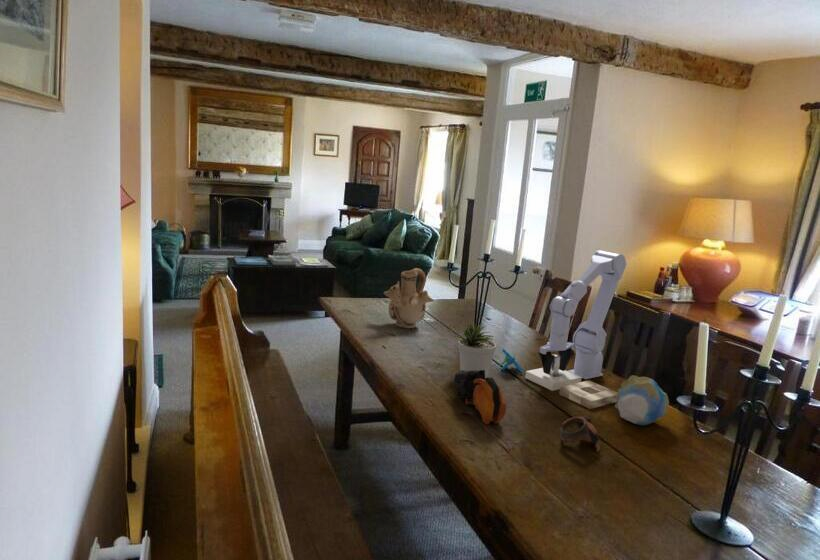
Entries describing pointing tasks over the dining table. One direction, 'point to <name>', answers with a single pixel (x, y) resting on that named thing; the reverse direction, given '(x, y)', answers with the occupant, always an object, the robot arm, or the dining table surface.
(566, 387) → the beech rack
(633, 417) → the decorative rock
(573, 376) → the socket block
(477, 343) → the potted plant
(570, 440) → the pottery mug
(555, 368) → the steel peg
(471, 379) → the tool
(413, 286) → the ceramic vessel
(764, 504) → the dining table surface
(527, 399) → the dining table surface
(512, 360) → the blue irregular piece
